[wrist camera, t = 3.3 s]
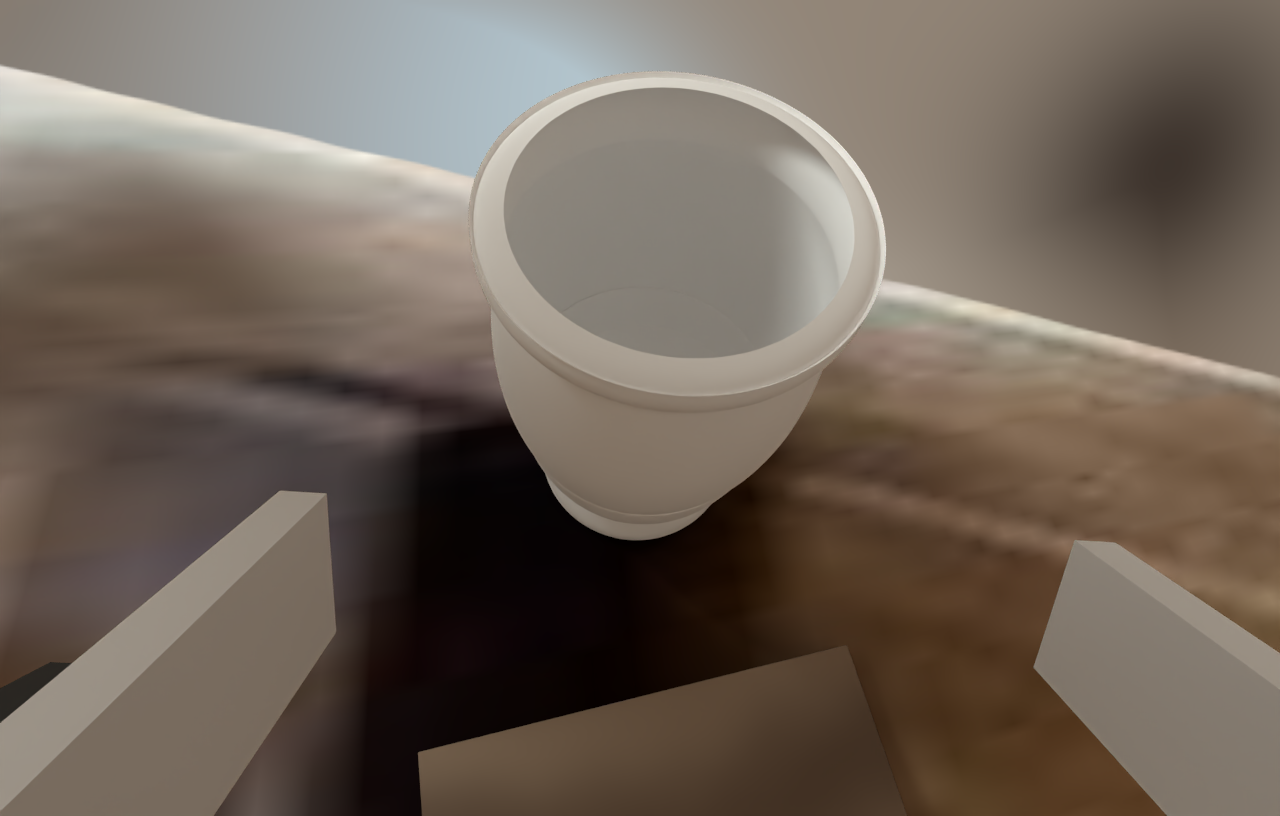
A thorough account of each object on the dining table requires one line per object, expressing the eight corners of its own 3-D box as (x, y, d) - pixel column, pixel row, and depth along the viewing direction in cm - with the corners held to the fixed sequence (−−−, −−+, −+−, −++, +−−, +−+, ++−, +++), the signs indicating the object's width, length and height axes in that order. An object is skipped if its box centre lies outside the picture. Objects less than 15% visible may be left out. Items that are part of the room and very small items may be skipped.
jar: (562, 328, 31) (548, 30, 18) (765, 382, 31) (903, 117, 18) (483, 529, 26) (386, 322, 13) (723, 597, 26) (871, 454, 13)
